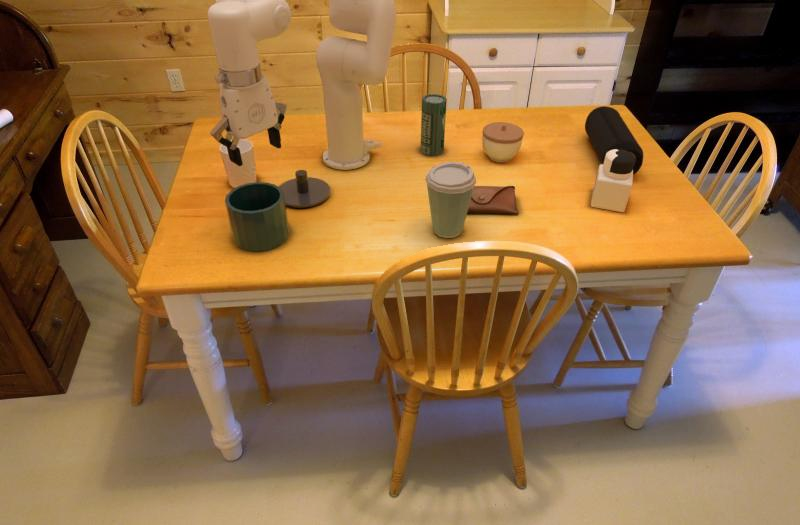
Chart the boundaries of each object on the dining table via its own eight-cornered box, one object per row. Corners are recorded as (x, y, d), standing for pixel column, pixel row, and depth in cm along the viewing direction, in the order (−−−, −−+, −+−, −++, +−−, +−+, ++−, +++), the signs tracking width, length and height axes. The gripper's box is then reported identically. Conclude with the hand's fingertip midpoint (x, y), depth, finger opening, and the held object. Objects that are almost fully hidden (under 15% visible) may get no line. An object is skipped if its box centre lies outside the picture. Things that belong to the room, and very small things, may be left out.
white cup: (251, 192, 138) (244, 155, 131) (221, 188, 139) (213, 152, 132) (264, 176, 144) (258, 140, 137) (235, 172, 145) (228, 137, 138)
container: (625, 196, 137) (639, 148, 129) (624, 213, 132) (639, 164, 124) (592, 190, 139) (605, 143, 131) (590, 207, 134) (603, 158, 126)
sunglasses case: (443, 214, 130) (444, 185, 129) (440, 213, 137) (440, 185, 136) (521, 214, 130) (521, 185, 129) (514, 212, 137) (514, 184, 136)
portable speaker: (639, 182, 143) (651, 146, 137) (600, 181, 143) (610, 145, 137) (613, 136, 163) (622, 103, 156) (579, 135, 163) (586, 102, 157)
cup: (279, 214, 130) (274, 177, 124) (296, 243, 122) (291, 204, 115) (228, 227, 126) (219, 189, 120) (241, 258, 118) (232, 218, 111)
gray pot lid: (319, 176, 144) (317, 155, 140) (338, 201, 135) (336, 179, 131) (270, 188, 139) (266, 166, 135) (286, 215, 130) (282, 192, 126)
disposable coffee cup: (436, 248, 121) (439, 189, 111) (415, 222, 128) (417, 164, 119) (479, 237, 124) (486, 178, 114) (456, 212, 132) (461, 154, 122)
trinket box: (508, 145, 158) (512, 113, 152) (526, 163, 150) (532, 131, 144) (473, 150, 155) (476, 119, 149) (490, 169, 147) (494, 136, 141)
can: (447, 152, 154) (450, 100, 145) (429, 158, 152) (432, 105, 142) (434, 143, 158) (436, 92, 149) (416, 149, 155) (418, 97, 146)
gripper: (212, 94, 98) (231, 177, 109) (290, 66, 108) (301, 145, 119) (189, 82, 102) (210, 164, 113) (266, 56, 112) (279, 134, 123)
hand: (256, 154), depth 116 cm, fingers open, 9 cm apart
